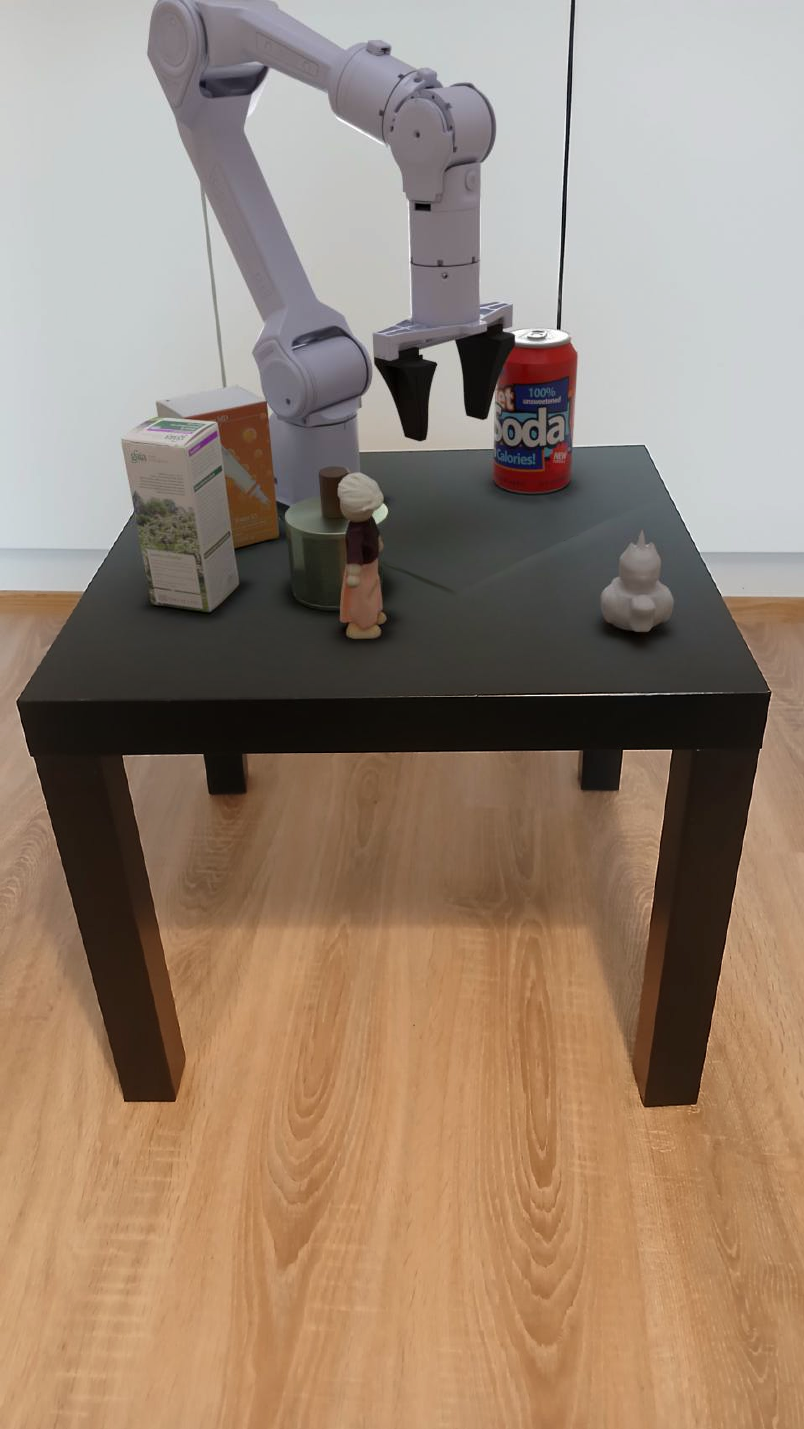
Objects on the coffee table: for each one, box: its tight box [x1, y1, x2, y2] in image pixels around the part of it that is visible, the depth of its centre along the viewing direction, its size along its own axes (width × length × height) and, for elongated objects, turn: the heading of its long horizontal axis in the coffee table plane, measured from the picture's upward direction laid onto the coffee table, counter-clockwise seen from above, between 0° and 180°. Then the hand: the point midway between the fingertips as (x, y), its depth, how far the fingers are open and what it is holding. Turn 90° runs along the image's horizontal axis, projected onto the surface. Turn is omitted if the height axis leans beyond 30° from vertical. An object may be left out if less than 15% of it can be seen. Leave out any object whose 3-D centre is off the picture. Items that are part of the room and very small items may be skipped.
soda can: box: [492, 327, 579, 495], centre depth 104 cm, size 8×8×15 cm
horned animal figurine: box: [600, 529, 675, 633], centre depth 80 cm, size 5×7×8 cm
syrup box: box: [120, 416, 240, 613], centre depth 85 cm, size 6×6×14 cm
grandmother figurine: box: [338, 472, 387, 640], centre depth 80 cm, size 8×4×13 cm, turn 178°
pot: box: [285, 525, 384, 612], centre depth 88 cm, size 8×8×6 cm
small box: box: [155, 384, 280, 549], centre depth 96 cm, size 8×6×13 cm
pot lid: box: [284, 466, 389, 539], centre depth 85 cm, size 8×8×5 cm
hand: (446, 427), depth 92 cm, fingers open, 7 cm apart
